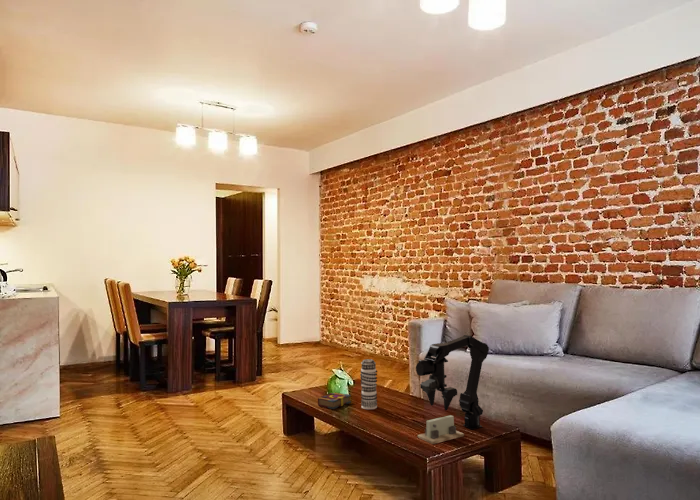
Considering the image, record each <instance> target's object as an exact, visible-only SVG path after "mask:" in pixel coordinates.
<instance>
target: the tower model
mask: <svg viewBox="0 0 700 500" xmlns="http://www.w3.org/2000/svg"><path fill="white" fill-rule="evenodd" d="M360 364H361V368H360V372H359V374H360V386H361V394H360V395H361V397H360V399H361V400H360V402H361V407H360V408H361V409H364V410H375V409H377V408H378V403H377V402H378V396H377V395H378V394H377V382H378V380H377V379H378V377H377V376H378V370H377V367H376V364H377V363H376V362H375V360H373V359H372V358H371V359H369V358H367V359H363V360H362V361H361V362H360Z"/></svg>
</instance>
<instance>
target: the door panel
mask: <svg viewBox="0 0 700 500" xmlns="http://www.w3.org/2000/svg"><path fill="white" fill-rule="evenodd" d="M454 417H455V416H454V415H451V414H450V415H447V416H442V417H441V416H440V417H437V418H433V419H429V420H426V423H425V424H426V428H427V437H428V438H432V432H431V431H435V430H438V431H439V436H441V435H445V434H448V433H449V427H451V426H455V420H454V419H455V418H454Z"/></svg>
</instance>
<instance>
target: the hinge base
mask: <svg viewBox="0 0 700 500" xmlns="http://www.w3.org/2000/svg"><path fill="white" fill-rule="evenodd" d="M431 432H432V438H428V437H427V427H426V428H424V433H420V434H417V438H419V439H420V440H422V441H425V442H426V443H428V444H431V445H436V444H438V443H442V442H446V441H450V440H453V439H459V438H462V437H464V436H465V433H463V432H460V431H459V430H457V427H456V426H455V425H454V426H451V427H449V433H448V434H445V435H441V436H439V431H438V430H435V431H431Z"/></svg>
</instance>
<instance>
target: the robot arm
mask: <svg viewBox="0 0 700 500" xmlns="http://www.w3.org/2000/svg"><path fill="white" fill-rule="evenodd" d="M465 347H466V348H468V349H469V355H470V359H471V361H470V367H469V372H468V378H467V383H466V389H465V390H464V392H460V395H459V400H458V402H459V403H458V404H459V407H460V408H461V411H462V413H463V412H464V423H463V424H462V426H463V427H465V428H467V429H470V430H477V429H480V428H483V425H481V423H480V421H481V420H480V418H481V416H483V412H484V409H483V408H482V407H480V405H479V396H478V393H477V392H478V387H479V381H480V377H481V371H482V365H483V362H484V361H485V360H486V359H487V357H488V354H489V349H490V347H489V346H488V344H487V343H485V342H482V341H480V340H478V339H477V338H475V337H474V336H472V335H470V334H469V335H468V334H465V335H463V336H460V337H457V338H454V339H451V340H449V341H447V342H439V343H433V344H430V345H429V348H428V351H427V352H426V354H425V356H424V358H423V359H418V362H417V364H416V366H415V371H416V374H417V375H418V376H419V377H424V376H428V375H429V376H428V379H426V380H424V381H422V382H421V383H420V388H419V389H421V390H422V392H424V393H425V394H426V396H427V398H428V401H429V404H430V406H434V403H435V396H436V391H438V392H441V399H443V407H444V408H443V409H444V411H445V412H446V411H448V409H449V406H450V405H451V402H452V401H453V399H454V398H455V397H456V396H458V390H457V388H455V387H452V386H449V387H448V385H447V383H446V380H445V379H446V378H447V374H445V363H448V362H449V360H448V359H447V358H446V357H447V356H449V355H450V353H451V352H454V351H456V350H459V349H461V348H465Z"/></svg>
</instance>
